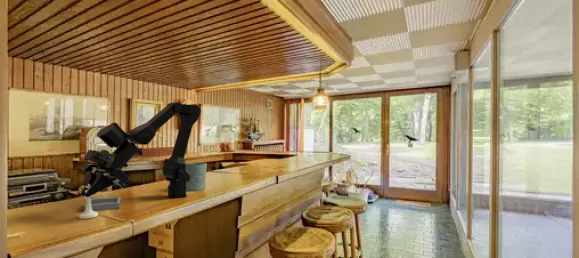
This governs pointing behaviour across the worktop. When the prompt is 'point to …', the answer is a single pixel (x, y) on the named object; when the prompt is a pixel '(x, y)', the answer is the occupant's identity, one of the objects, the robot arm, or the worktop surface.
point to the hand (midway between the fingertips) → (83, 195)
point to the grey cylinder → (196, 176)
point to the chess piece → (88, 208)
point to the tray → (105, 203)
